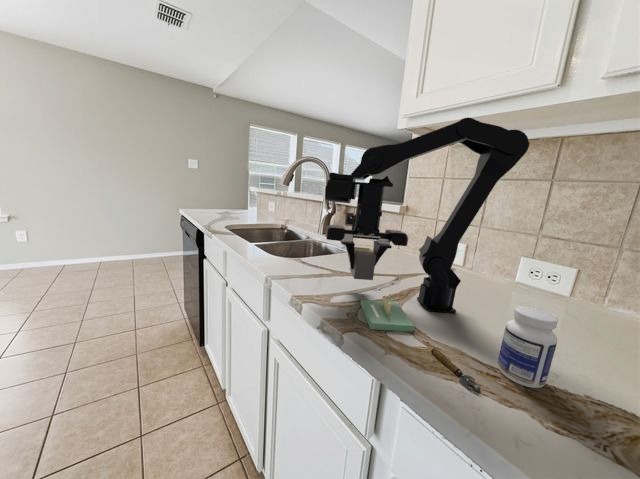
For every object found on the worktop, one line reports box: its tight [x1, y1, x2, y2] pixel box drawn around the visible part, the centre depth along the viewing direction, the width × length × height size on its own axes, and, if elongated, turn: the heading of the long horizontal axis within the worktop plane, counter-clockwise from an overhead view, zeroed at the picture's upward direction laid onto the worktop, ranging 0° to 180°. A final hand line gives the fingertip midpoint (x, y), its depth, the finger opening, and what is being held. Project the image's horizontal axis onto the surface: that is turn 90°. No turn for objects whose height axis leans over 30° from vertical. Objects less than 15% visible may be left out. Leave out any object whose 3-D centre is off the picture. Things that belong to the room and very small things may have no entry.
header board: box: [360, 295, 415, 333], centre depth 51 cm, size 10×8×4 cm
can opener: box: [431, 347, 482, 397], centre depth 37 cm, size 9×2×1 cm, turn 11°
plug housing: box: [349, 246, 376, 281], centre depth 62 cm, size 7×4×6 cm, turn 2°
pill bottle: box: [496, 305, 559, 389], centre depth 36 cm, size 6×6×10 cm
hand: (361, 269), depth 62 cm, fingers closed on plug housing, 4 cm apart
